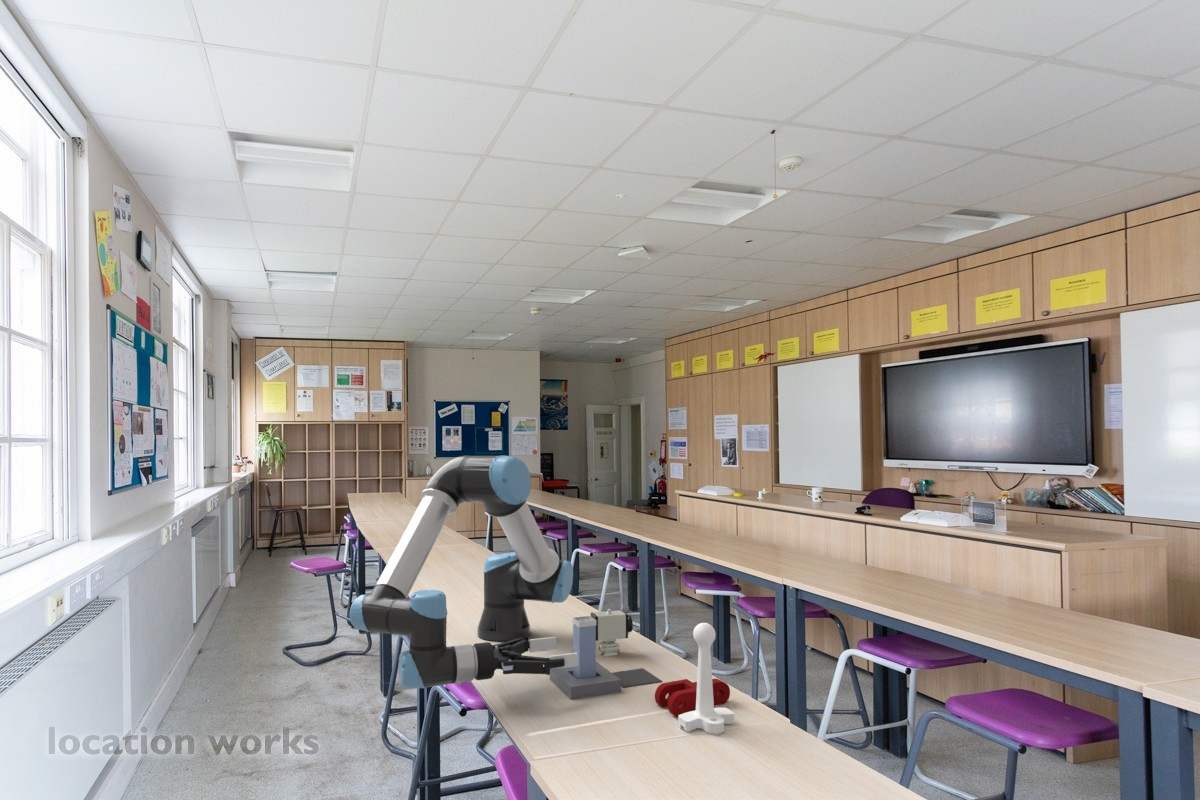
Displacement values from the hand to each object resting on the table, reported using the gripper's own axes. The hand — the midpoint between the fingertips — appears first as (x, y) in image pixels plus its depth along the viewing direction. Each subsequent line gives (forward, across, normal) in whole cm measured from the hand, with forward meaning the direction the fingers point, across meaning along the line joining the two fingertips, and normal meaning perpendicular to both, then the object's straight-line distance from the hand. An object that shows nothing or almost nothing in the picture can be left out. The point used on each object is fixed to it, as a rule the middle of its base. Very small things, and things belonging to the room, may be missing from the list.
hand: (566, 650), depth 162 cm
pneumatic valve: (+19, -21, -9) cm, 30 cm away
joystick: (+19, +30, -9) cm, 37 cm away
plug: (+5, 0, -8) cm, 10 cm away
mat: (+17, -1, -9) cm, 19 cm away
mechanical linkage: (+22, +20, -9) cm, 31 cm away
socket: (+5, 0, -9) cm, 10 cm away
